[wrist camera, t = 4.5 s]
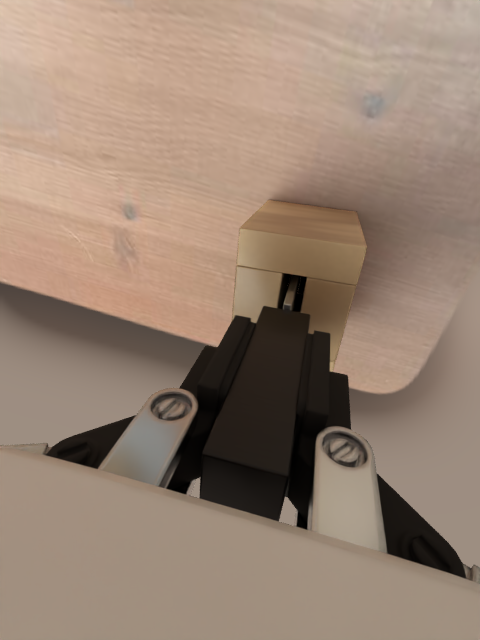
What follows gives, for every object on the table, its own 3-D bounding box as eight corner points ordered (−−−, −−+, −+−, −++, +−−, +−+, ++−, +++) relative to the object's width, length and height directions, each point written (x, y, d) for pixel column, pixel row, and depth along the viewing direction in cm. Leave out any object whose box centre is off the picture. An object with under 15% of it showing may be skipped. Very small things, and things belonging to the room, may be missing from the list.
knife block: (357, 211, 19) (367, 246, 13) (329, 321, 22) (328, 389, 16) (268, 199, 20) (239, 227, 14) (255, 307, 23) (227, 367, 17)
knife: (320, 242, 20) (292, 470, 6) (310, 289, 22) (271, 554, 8) (290, 237, 20) (200, 446, 7) (282, 284, 22) (197, 531, 8)
